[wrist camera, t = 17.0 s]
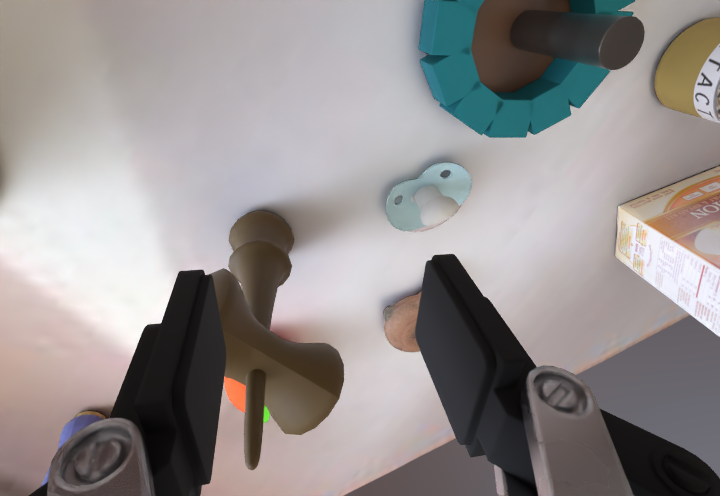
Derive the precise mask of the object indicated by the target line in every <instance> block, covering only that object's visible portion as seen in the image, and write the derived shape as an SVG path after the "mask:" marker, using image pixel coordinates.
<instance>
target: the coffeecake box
mask: <svg viewBox="0 0 720 496" xmlns="http://www.w3.org/2000/svg"><path fill="white" fill-rule="evenodd" d="M617 227H618V232H617V240H616V253H615V256H616V257H617V258H618V259H619V260H620V261H622V262H623V263H624V264H625V265H627V266H628V267H629V268H631V269H632V270H633V271H634V272H636V273H637V274H638V275H640V276H641V277H642V278H644V279H645V280H646V281H647V282H649V283H650V284H651V285H653V286H654V287H655V288H657V289H658V290H659V291H660V292H662V293H663V294H664V295H666V296H667V297H668V298H670V299H671V300H672V301H674V302H675V303H676V304H677V305H679V306H680V307H681V308H683V309H684V310H685V311H687V312H688V313H689V314H690V315H692V316H693V317H694V318H696V319H697V320H698V321H700V322H701V323H702V324H703V325H705V326H706V327H707V328H709V329H710V330H711V331H713V332H714V333H715V334H716V335H718V336H719V337H720V166H718V167H716V168H714V169H711V170H708V171H706V172H703V173H701V174H698V175H696V176H693V177H691V178H688V179H686V180H683V181H681V182H678V183H676V184H673V185H670V186H668V187H665V188H663V189H660V190H658V191H655V192H653V193H650V194H648V195H645V196H643V197H640V198H637V199H635V200H632V201H630V202H627V203H625V204H622V205H620V206H618V215H617Z"/></svg>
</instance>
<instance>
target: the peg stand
mask: <svg viewBox="0 0 720 496" xmlns="http://www.w3.org/2000/svg"><path fill="white" fill-rule="evenodd" d="M643 40H644V27H643V24H642V22H641V21H640V20H639V19H638V18H636V17H633V16H620V15H604V14H588V13H573V12H571V11H570V4H569V0H484V2H483V3H482V5H481V6H480V8H479V9H478V12H477V18H476V23H475V29H474V34H473V40H472V45H471V52H472V55H473V59H474V62H475V65H476V69H477V72H478V75H479V79H480V82H481V83H483V84H484V85H485V86H486V87H488V88H489V89H490V90H491V91H493V92H515V91H517V90H519V89H521V88H522V87H524V86H526V85H528V84H530V83H531V82H533V81H535V80H537V79H539V78H540V77H541V76H542V74H543V73H544V72H545V70H546V69H547V68H548V67H549V65H550V64H551V63H552V61H553V60H554V59H555V58H560V59H564V60H569V61H573V62H577V63H582V64H586V65H591V66H595V67H599V68H604V69H608V70H616V69H620V68H622V67H624V66H626V65H627V64H628V63H630V62H631V61H632V60H633V59H634V58H635V56H636V55H637V54H638V52H639V50H640V48H641V46H642V43H643Z"/></svg>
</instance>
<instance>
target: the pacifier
mask: <svg viewBox="0 0 720 496" xmlns="http://www.w3.org/2000/svg"><path fill="white" fill-rule="evenodd" d="M444 170H450V172H451V173H450V175H449V176H448V177H441V176H440V174H441V172H442V171H444ZM471 186H472V181H471V177H470V175H469V173H468V172H467V171H466V170H465V169H464V168H463V167H462V166H460V165H458V164H456V163H452V162H441V163H437V164H434V165H432V166H430V167H429V168H427V169H426V170H425V171H424V172H423V173H422V175H421V176H420V177H419V178H417V179H413V180H406V181H404V182H401V183H400V184H398V185H397V186H395V188H394V189H393V190H392V191H391V192H390V194H389V196H388V199H387V202H386V214H387V217H388V220H389V222H390V223H391V225H392V226H393V227H395V228H396V229H399V230H401V231H409V232H421V231H425V230H429V229H432V228H434V227H436V226H438V225H440V224H442V223H443V222H445V221H447V220H448V219H449V218H450V217H452V216H453V215H454V214H455V213H456V212H457V211H458V209H459V208H460V206H461V204H462V203H463V202H464V201H465V200H466V199H467V197H468V196H469V193H470V190H471ZM399 195H401V196H402V201H401V202H400V203H399V204H395V198H396V197H397V196H399Z"/></svg>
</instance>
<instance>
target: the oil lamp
mask: <svg viewBox="0 0 720 496" xmlns="http://www.w3.org/2000/svg"><path fill="white" fill-rule="evenodd" d="M420 297H421V291H420V292H419V293H418V294H417V295H413V296H410V297H406V298H404V299H402V300H401V301H399V302H397V303H396V304H394V305H392V306H388V307H386V309H385V310H384V312H383V314H384V319H385V323H384V331H385V335H386V338H387V340H388V341H389V343H390V344H391V345H392V346H393V347H395V348H396V349H399V350H401V351H405V352H418V351H420V349H419V346H418V344H417V341H416V337H415V327H416V321H417V315H418V309H419V303H420Z"/></svg>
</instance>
